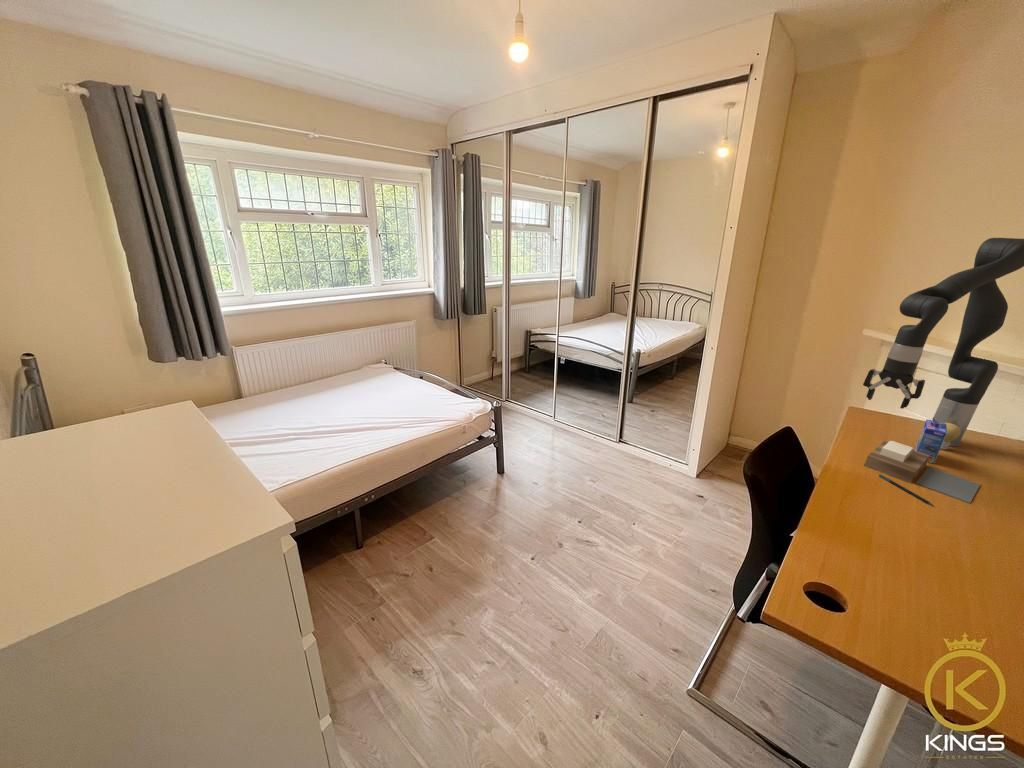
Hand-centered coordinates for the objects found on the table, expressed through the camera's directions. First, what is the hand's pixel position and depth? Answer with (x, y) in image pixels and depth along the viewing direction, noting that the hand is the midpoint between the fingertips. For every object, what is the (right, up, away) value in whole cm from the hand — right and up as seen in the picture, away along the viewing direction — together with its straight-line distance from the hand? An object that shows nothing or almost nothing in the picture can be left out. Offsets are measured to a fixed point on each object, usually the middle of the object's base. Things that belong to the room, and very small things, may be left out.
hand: (885, 403), depth 136 cm
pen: (-5, -27, -11) cm, 30 cm away
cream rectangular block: (+4, -16, 0) cm, 17 cm away
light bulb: (+33, -17, +13) cm, 39 cm away
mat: (+12, -25, -8) cm, 29 cm away
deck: (+5, -21, +2) cm, 22 cm away
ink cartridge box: (+21, -19, +8) cm, 30 cm away
